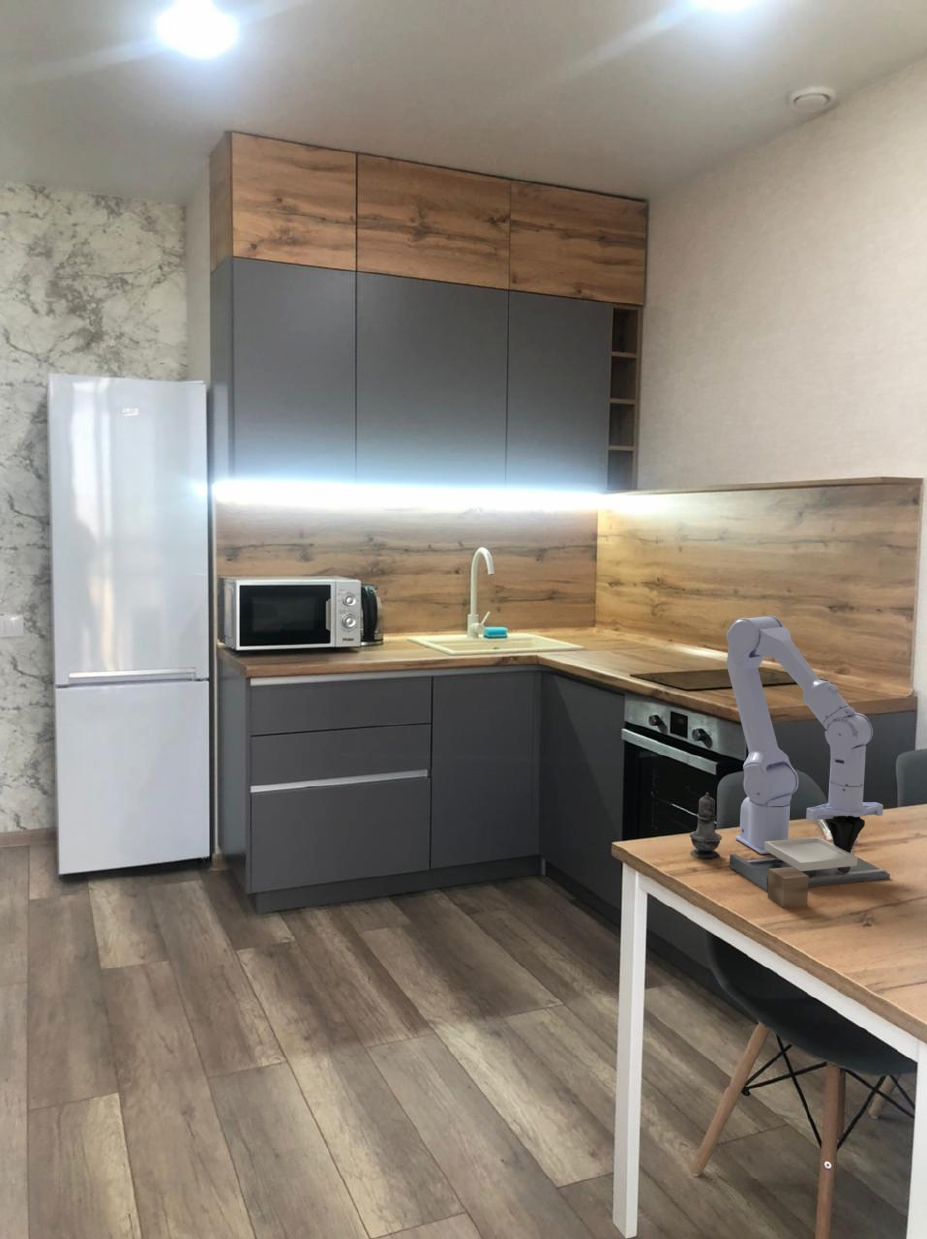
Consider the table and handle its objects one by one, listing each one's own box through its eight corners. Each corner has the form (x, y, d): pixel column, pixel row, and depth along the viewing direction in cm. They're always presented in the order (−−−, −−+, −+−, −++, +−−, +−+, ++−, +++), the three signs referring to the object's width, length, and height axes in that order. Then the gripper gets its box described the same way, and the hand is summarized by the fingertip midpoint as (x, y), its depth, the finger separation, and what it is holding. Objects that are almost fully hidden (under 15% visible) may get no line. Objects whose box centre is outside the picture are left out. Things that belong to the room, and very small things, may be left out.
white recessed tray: (764, 856, 182) (764, 841, 182) (817, 851, 185) (818, 836, 185) (800, 878, 171) (801, 862, 171) (856, 872, 174) (857, 857, 174)
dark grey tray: (729, 867, 181) (729, 854, 180) (846, 855, 187) (847, 843, 187) (766, 891, 169) (767, 878, 169) (889, 878, 176) (890, 865, 176)
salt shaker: (698, 861, 184) (700, 797, 182) (683, 850, 189) (685, 788, 188) (727, 858, 185) (729, 795, 184) (711, 848, 191) (713, 786, 189)
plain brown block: (767, 898, 167) (768, 869, 166) (791, 895, 168) (792, 866, 167) (783, 908, 162) (784, 878, 162) (807, 905, 164) (808, 876, 163)
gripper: (825, 791, 172) (821, 867, 174) (896, 785, 176) (891, 860, 178) (800, 780, 179) (797, 854, 181) (869, 775, 183) (865, 847, 185)
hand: (842, 856), depth 180 cm, fingers closed
